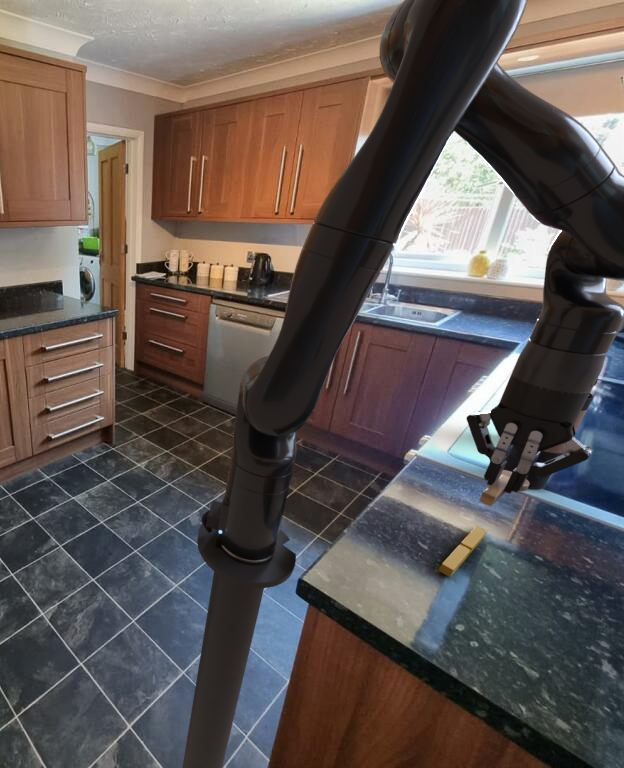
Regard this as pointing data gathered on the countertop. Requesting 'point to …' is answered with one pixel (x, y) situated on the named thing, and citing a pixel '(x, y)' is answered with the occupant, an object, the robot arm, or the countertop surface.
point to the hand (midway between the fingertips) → (500, 487)
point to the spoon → (499, 489)
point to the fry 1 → (454, 560)
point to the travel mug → (542, 454)
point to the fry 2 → (474, 538)
